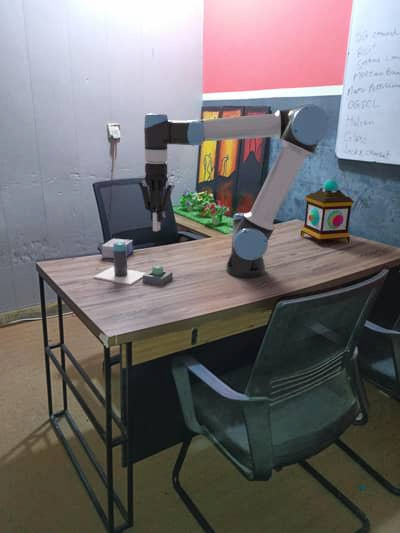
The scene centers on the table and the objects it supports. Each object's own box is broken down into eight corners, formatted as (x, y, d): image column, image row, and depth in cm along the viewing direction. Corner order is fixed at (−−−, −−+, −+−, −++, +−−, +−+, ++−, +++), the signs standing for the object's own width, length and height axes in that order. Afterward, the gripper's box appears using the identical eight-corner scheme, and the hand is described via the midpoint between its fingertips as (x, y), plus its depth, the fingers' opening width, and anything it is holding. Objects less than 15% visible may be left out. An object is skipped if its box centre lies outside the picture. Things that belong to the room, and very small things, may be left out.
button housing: (172, 278, 161) (172, 271, 161) (162, 285, 154) (162, 278, 154) (153, 274, 164) (153, 268, 164) (142, 281, 158) (142, 275, 157)
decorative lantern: (296, 236, 221) (302, 176, 211) (329, 233, 227) (337, 175, 217) (317, 247, 203) (325, 183, 193) (353, 244, 209) (362, 181, 199)
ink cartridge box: (123, 260, 180) (136, 249, 193) (123, 247, 178) (135, 237, 191) (101, 258, 182) (115, 247, 195) (100, 245, 180) (114, 236, 193)
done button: (165, 274, 160) (165, 266, 159) (159, 277, 156) (159, 269, 155) (155, 272, 161) (155, 264, 160) (150, 275, 158) (150, 267, 157)
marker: (130, 273, 163) (128, 243, 159) (122, 277, 159) (121, 246, 155) (119, 271, 165) (117, 241, 161) (112, 275, 161) (110, 244, 157)
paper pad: (147, 274, 164) (147, 273, 164) (130, 285, 154) (130, 283, 154) (112, 268, 170) (112, 266, 170) (93, 277, 160) (93, 276, 160)
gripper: (178, 162, 146) (177, 230, 154) (145, 160, 151) (146, 225, 159) (168, 164, 140) (167, 235, 147) (133, 161, 144) (135, 230, 152)
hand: (156, 230), depth 153 cm, fingers closed
